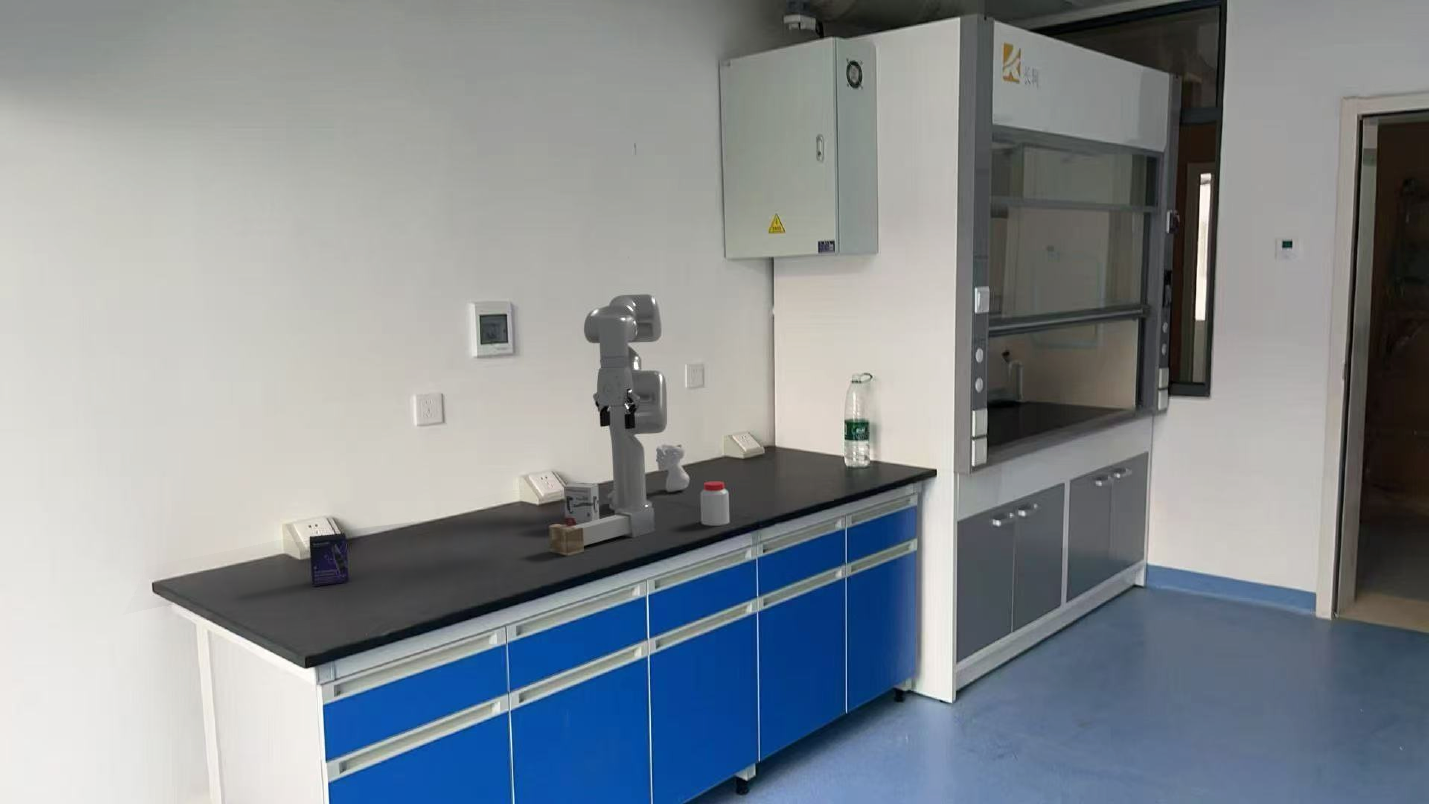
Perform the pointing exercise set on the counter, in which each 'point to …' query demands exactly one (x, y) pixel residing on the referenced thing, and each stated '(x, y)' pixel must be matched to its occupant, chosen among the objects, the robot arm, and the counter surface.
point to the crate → (566, 539)
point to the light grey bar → (605, 528)
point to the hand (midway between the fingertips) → (617, 427)
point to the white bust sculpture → (672, 466)
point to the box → (328, 559)
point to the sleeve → (639, 519)
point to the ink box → (581, 503)
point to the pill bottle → (714, 504)
